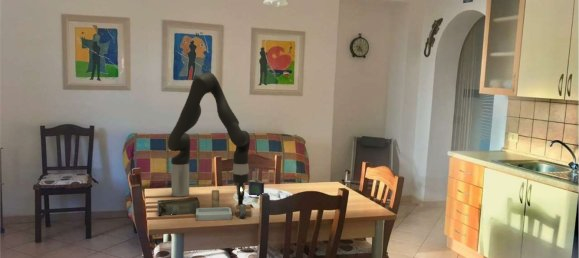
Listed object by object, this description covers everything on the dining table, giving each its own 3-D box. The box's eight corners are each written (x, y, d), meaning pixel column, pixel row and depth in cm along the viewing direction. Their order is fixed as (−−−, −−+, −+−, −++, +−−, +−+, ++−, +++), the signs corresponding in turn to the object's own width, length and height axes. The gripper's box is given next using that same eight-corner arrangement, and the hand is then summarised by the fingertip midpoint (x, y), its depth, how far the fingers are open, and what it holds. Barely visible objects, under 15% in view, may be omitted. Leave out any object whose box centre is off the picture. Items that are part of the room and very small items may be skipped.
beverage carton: (157, 212, 223) (156, 198, 223) (197, 208, 230) (197, 195, 229) (158, 217, 216) (158, 203, 215) (200, 213, 222) (200, 200, 222)
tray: (196, 213, 222) (196, 208, 222) (230, 212, 225) (230, 207, 224) (195, 220, 211) (195, 215, 211) (231, 219, 214) (231, 214, 214)
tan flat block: (235, 211, 228) (235, 205, 227) (250, 210, 229) (250, 204, 228) (236, 217, 218) (236, 211, 218) (251, 217, 219) (251, 211, 218)
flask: (247, 197, 252) (247, 177, 251) (250, 195, 254) (250, 176, 253) (262, 199, 248) (263, 179, 247) (265, 198, 251) (265, 178, 249)
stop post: (239, 216, 218) (239, 204, 217) (245, 216, 218) (245, 204, 218) (239, 218, 215) (239, 206, 214) (246, 218, 216) (246, 205, 215)
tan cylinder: (211, 207, 231) (211, 189, 230) (219, 207, 232) (219, 189, 231) (211, 209, 228) (211, 191, 227) (219, 209, 228) (219, 191, 227)
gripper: (232, 169, 233) (231, 203, 235) (233, 175, 220) (233, 211, 222) (247, 169, 234) (246, 202, 237) (249, 175, 221) (249, 210, 224)
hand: (240, 206), depth 229 cm, fingers closed
